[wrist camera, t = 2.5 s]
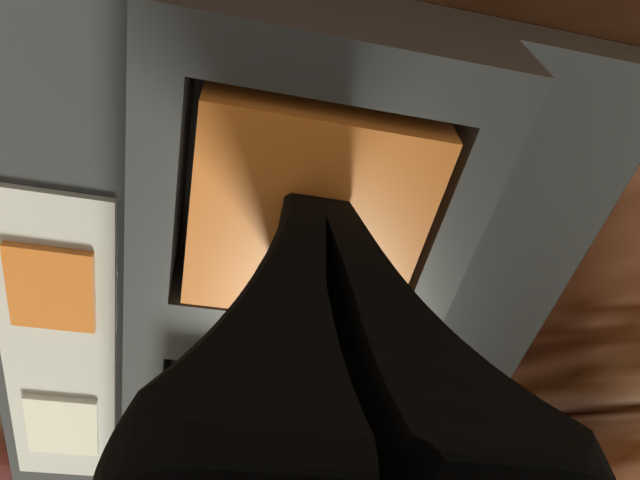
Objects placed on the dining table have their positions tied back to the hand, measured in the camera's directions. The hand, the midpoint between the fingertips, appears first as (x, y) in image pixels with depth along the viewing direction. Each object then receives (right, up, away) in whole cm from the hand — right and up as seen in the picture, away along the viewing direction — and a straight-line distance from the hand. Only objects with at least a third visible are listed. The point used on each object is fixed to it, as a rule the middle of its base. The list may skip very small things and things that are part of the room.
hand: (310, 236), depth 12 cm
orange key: (0, +1, +2) cm, 2 cm away
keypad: (-2, -3, +8) cm, 8 cm away
